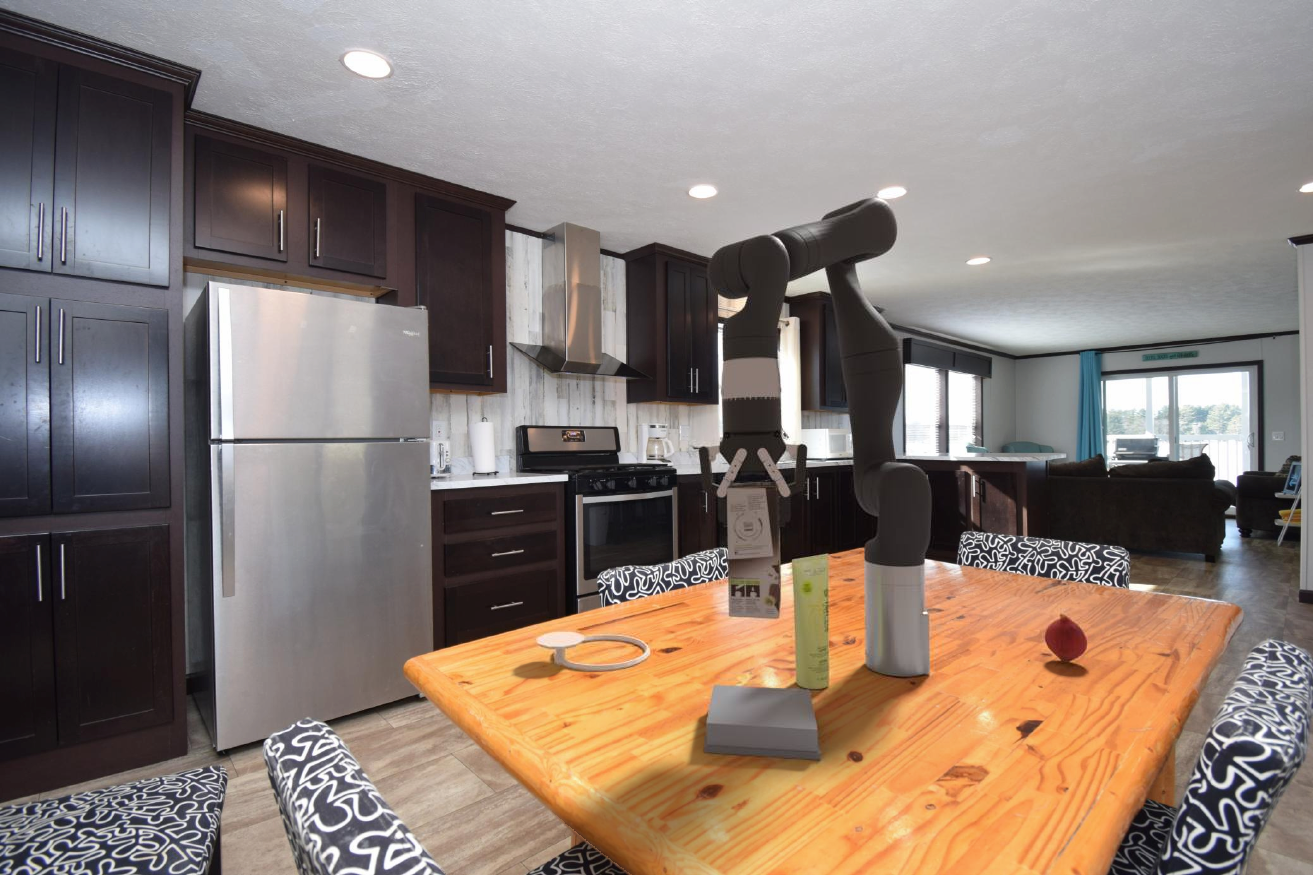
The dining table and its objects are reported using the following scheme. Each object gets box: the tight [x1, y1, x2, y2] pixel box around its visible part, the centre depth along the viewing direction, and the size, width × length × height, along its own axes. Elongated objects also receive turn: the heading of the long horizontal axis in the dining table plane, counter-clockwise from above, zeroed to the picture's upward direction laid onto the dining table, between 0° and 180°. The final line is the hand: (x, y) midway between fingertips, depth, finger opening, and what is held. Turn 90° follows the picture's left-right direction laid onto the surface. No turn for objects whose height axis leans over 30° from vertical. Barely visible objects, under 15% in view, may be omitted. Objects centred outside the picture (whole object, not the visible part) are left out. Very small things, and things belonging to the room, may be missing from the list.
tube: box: [791, 553, 830, 690], centre depth 97 cm, size 6×5×20 cm
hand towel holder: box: [535, 631, 651, 672], centre depth 111 cm, size 17×4×21 cm
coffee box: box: [726, 481, 782, 620], centre depth 82 cm, size 9×6×16 cm
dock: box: [703, 684, 822, 761], centre depth 82 cm, size 14×13×3 cm
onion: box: [1044, 612, 1088, 663], centre depth 106 cm, size 6×6×8 cm
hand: (754, 525), depth 83 cm, fingers closed on coffee box, 6 cm apart
